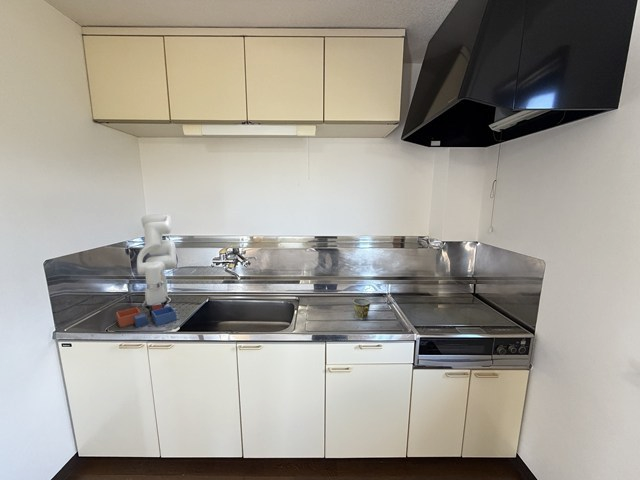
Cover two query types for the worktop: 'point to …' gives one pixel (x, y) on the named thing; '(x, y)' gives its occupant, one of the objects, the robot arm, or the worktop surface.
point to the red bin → (127, 316)
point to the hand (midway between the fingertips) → (157, 313)
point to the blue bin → (163, 315)
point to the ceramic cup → (361, 308)
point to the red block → (156, 307)
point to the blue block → (140, 320)
